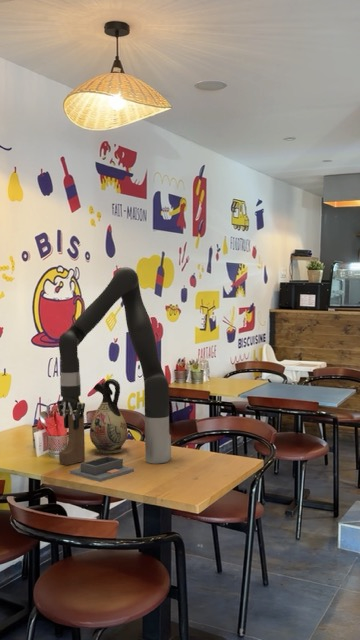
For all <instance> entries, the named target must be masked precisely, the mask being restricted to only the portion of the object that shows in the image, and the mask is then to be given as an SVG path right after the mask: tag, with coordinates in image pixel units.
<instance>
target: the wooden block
mask: <svg viewBox="0 0 360 640" xmlns="http://www.w3.org/2000/svg"><path fill="white" fill-rule="evenodd" d="M84 414H85V413H84ZM84 414H83V418H80V419H79V429H77V430H73V417H72V414H71V413H70V414H69V415H68V428H67V429H68V442H67V445H66V447H65V448H64V449H62V450H60V451H59V453H58V457H59V458H58V461H59V464H60V465H61V464H62V465H63V466H68V465H72V464H76V463H80V462H81V463H82V462H85V460H86V454H85V453H86V451H85V415H84ZM75 416H76V414H75Z"/></svg>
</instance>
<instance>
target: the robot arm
mask: <svg viewBox="0 0 360 640" xmlns="http://www.w3.org/2000/svg"><path fill="white" fill-rule="evenodd" d="M120 299H121V300H122V303H123V307H124V316H125V321H126V322H125V323H126V328H127V331H128V334H129V339H130V341H131V345H132V348H133V349H134V350H133V351H134V352H135V354H136V357H137V359H138V361H139V363H140V367H141V368H140V369H141V372H142V376H143V383H144V385H143V386H144V389H143V390H144V393H143V394H144V445H145V447H144V448H145V449H144V453H145V455H144V456H145V462H146V463H149V464H165V463H168V462H170V460H172V435H171V434H170V385H169V381H168V379H167V377H166V376H165V371H164V370H163V369H162V365H161V362H160V359H159V354H158V346H157V340H156V336H155V332H154V328H153V324H152V322H151V319H150V317H149V314H148V311H147V309H146V307H145V304H144V302H143V301H144V300H143V298H142V293H141V289H140V282H139V276H138V273H137V272H136V271H135V269H133V268H131V267H128V266H124V267H121V268H119V269H117V270H116V271H115V272H114V275H113V277H112V278H111V280H110V282H109V283H108V284H107V285H106V287H105V289H103V291H102V292H101V293H100V294H99V295H98V296H97V298H95V300H93V301H92V303H90V304H89V305H88V306H87V308H85V309H84V310H83V311H82V312H81V314H80V315H79V316H78V317H77V318H76V320H75V321H74V323H73V324H72V326H71V327H69V328H68V329H67V330H66V331H65V332H63V333H61V335H60V336H59V339H58V350H59V357H60V377H59V378H60V379H59V383H60V385H59V386H60V387H59V388H60V397H61V398H62V399H61V400H57V401H56V404H57V410H58V414H59V417H62V419H63V428H64V429H68V415H69V414H72V417H73V430H77V429H79V419H80V418H83V414H85V407H86V403H85V402H80V397H81V394H82V393H81V391H82V389H81V388H82V387H81V374H80V358H79V355H78V346H79V345H80V344H81V343H82V341H83V340H84V339H85V338H86V337H87V335H88V334H89V333H90V332H91V331H93V329H95V327H96V326H98V324H99V323H101V321H102V320H103V318H104V317H105V316H106V314H107V313H108V312H110V311H109V310H110V309H111V308H112V307H113V306H114V305H115V304H116V302H118V301H119V300H120ZM75 414H76V416H75Z"/></svg>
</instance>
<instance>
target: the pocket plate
mask: <svg viewBox="0 0 360 640" xmlns="http://www.w3.org/2000/svg"><path fill="white" fill-rule="evenodd" d="M123 460H124V459H123V458H119V457H114V456H109V455H107V456H102V457H98V458H95V459H91V460H88V461H83V462H81V463H80V467H79V468H75V469H71V470H69V474H70V475H74V476H79V477H82V478H86V479H89V480H93V481H97V482H103V481H107V480H111V479H114V478H117V477H120V476H123V475H126V474H129V473H130V474H131V473H133V472H134V471H135V470H134V468H133V467H129V466H124V462H123Z"/></svg>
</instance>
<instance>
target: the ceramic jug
mask: <svg viewBox="0 0 360 640" xmlns="http://www.w3.org/2000/svg"><path fill="white" fill-rule="evenodd" d="M110 385H113V386H114V394H113V390H112V389H111V387H110ZM93 390H94V391H96V392H98V393H100V394H101V395H102V401H101V403H100V404H99V406H98V407H97V409H96V411H95V414H93V417H92V419H91V422H90V428H89V439H90V442H91V443H92V444H93V445H94V447H95V448H96V449H97V452H98V453H99V454H115V453H120V452H121V451H122V446H123V445H124V444H125V443H126V441H127V438H128V432H129V431H128V426H127V422H126V420H125V418H124V415H123V414H122V413H121V411H120V409H119V406H118V402H119V398H120V393H121V385H120V382H119V381H118V380H116V379H114V378H108V379H107V380H105V381H102V382H101V383H99V382H97V383H96V384H95V385H94V386H93ZM112 396H113V399H112Z"/></svg>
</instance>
